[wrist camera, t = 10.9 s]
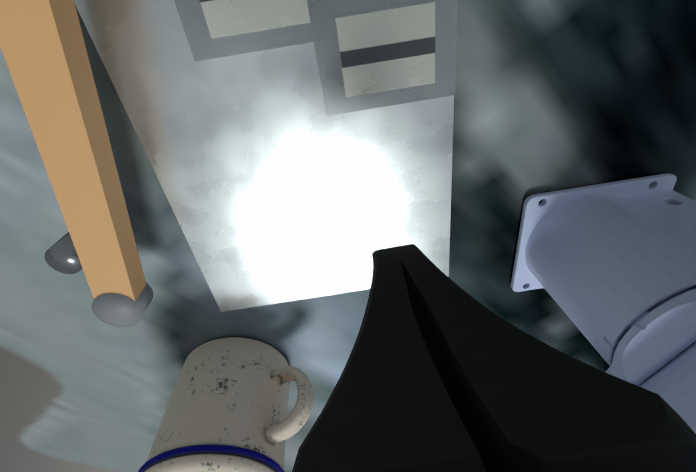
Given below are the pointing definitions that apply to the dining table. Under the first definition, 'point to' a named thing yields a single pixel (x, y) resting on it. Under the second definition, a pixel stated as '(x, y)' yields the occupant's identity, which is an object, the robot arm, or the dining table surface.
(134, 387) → the dining table surface
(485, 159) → the dining table surface
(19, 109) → the dining table surface
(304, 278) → the base plate
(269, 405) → the teacup with lid
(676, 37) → the dining table surface
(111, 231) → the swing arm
